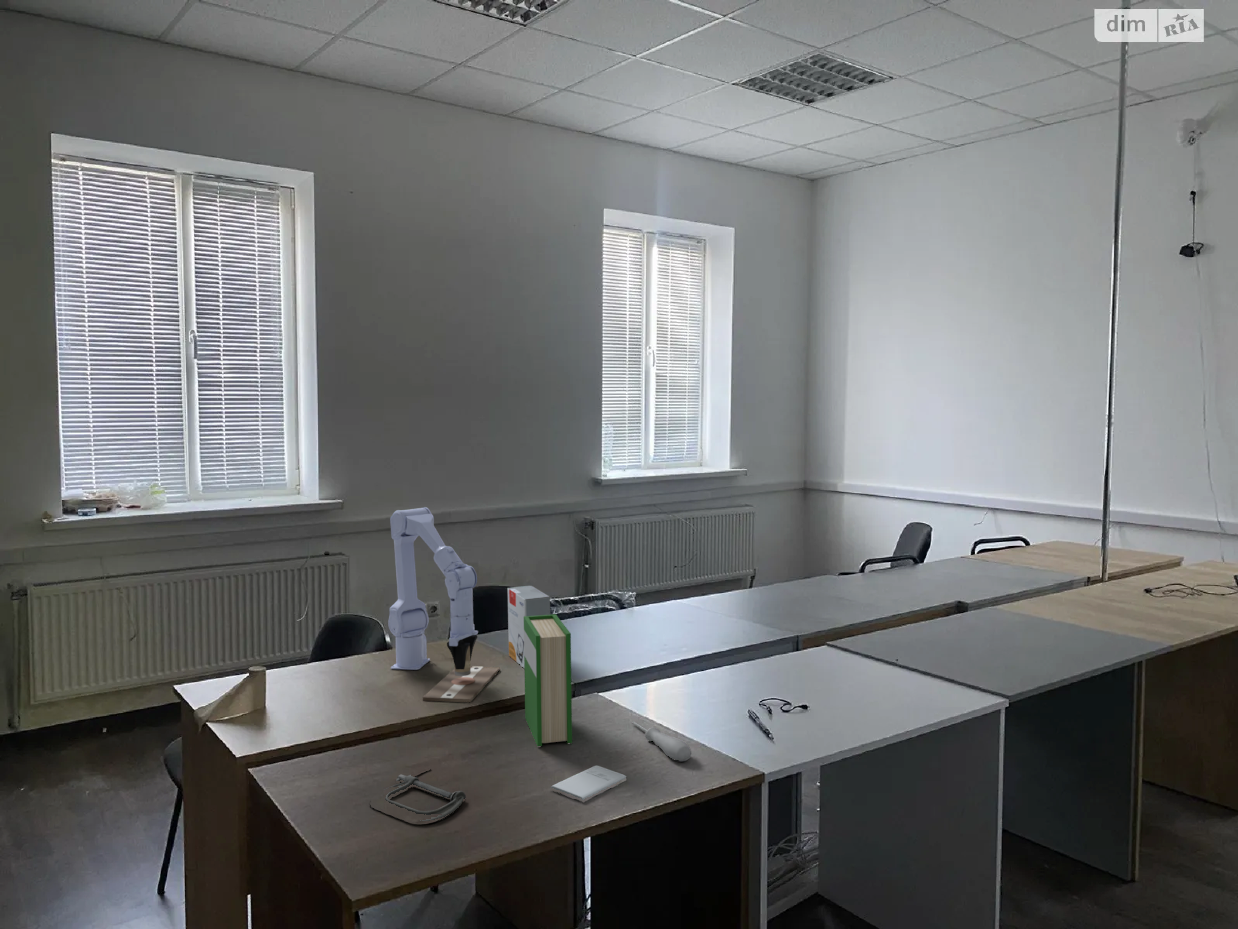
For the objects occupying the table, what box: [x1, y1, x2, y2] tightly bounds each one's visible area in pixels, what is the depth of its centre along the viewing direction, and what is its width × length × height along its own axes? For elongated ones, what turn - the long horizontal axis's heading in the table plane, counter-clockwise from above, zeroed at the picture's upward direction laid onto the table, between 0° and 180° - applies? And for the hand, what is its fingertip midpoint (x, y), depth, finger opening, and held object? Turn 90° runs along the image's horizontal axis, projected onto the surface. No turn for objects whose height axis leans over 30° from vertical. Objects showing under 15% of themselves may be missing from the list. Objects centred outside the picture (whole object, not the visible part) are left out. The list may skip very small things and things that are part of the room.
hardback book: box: [523, 613, 573, 747], centre depth 198 cm, size 18×7×24 cm, turn 14°
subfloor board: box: [422, 665, 501, 703], centre depth 232 cm, size 26×12×1 cm, turn 172°
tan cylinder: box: [454, 646, 471, 676], centre depth 231 cm, size 4×4×7 cm
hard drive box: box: [507, 585, 551, 669], centre depth 251 cm, size 16×8×20 cm, turn 25°
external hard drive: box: [550, 765, 627, 800], centre depth 171 cm, size 2×8×12 cm
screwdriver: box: [630, 720, 692, 762], centre depth 191 cm, size 5×25×4 cm, turn 25°
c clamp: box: [383, 774, 467, 821], centre depth 166 cm, size 20×17×3 cm
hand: (462, 666), depth 231 cm, fingers closed on tan cylinder, 4 cm apart
